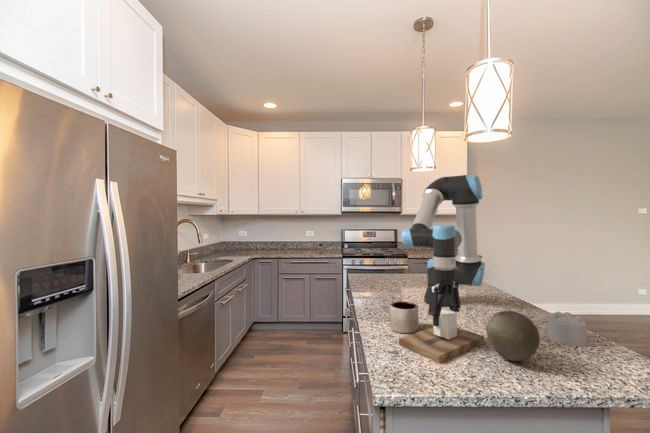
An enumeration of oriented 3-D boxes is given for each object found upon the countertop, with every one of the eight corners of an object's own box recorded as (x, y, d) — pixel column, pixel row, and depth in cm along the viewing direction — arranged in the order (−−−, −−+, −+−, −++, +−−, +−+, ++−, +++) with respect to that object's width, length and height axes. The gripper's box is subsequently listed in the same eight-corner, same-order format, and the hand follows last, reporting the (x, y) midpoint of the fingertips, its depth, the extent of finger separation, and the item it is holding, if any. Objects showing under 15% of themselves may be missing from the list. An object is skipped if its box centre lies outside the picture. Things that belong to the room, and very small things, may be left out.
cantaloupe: (483, 347, 102) (483, 303, 102) (532, 354, 97) (532, 308, 97) (490, 367, 89) (489, 317, 89) (547, 376, 84) (546, 322, 84)
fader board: (443, 328, 119) (443, 322, 119) (484, 342, 106) (483, 335, 106) (399, 344, 105) (399, 338, 105) (439, 363, 92) (439, 355, 92)
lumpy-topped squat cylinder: (552, 342, 106) (552, 317, 106) (543, 329, 117) (543, 307, 117) (590, 347, 101) (590, 322, 101) (577, 333, 113) (577, 310, 113)
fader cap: (441, 330, 110) (441, 309, 110) (457, 336, 106) (456, 313, 105) (433, 333, 108) (433, 311, 108) (448, 339, 103) (448, 316, 103)
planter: (407, 322, 127) (406, 300, 127) (424, 331, 116) (424, 307, 116) (385, 326, 123) (384, 303, 123) (401, 336, 113) (400, 310, 113)
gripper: (435, 273, 98) (436, 342, 98) (470, 266, 109) (471, 328, 109) (416, 269, 104) (417, 335, 104) (452, 263, 116) (452, 322, 116)
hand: (445, 331), depth 107 cm, fingers open, 8 cm apart
